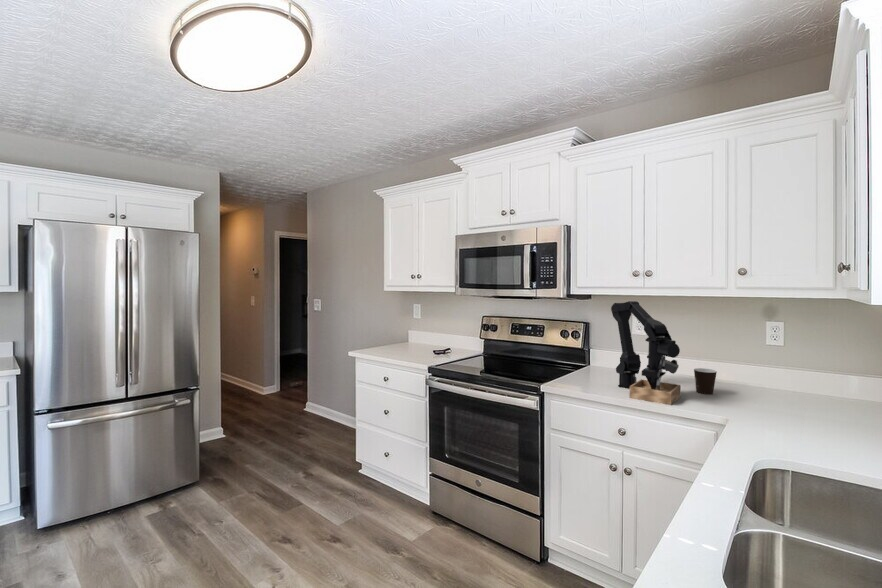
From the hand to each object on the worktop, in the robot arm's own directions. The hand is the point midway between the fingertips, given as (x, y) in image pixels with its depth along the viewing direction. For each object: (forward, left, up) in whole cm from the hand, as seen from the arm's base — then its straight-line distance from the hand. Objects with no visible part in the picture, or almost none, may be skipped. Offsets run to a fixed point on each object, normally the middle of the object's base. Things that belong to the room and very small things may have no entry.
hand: (655, 389), depth 190 cm
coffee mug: (+15, +23, -3) cm, 28 cm away
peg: (0, 0, -2) cm, 2 cm away
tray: (0, 0, -3) cm, 3 cm away
